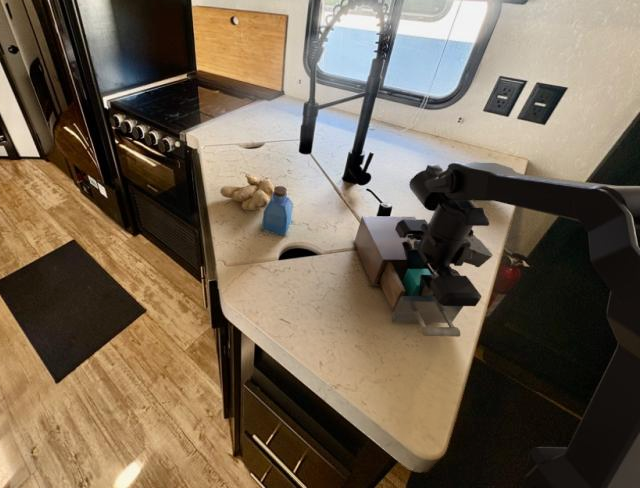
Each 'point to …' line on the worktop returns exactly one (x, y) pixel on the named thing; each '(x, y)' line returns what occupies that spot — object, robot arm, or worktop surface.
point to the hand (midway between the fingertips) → (417, 286)
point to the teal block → (414, 281)
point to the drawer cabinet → (379, 244)
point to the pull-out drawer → (416, 303)
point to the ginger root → (251, 193)
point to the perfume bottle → (278, 212)
